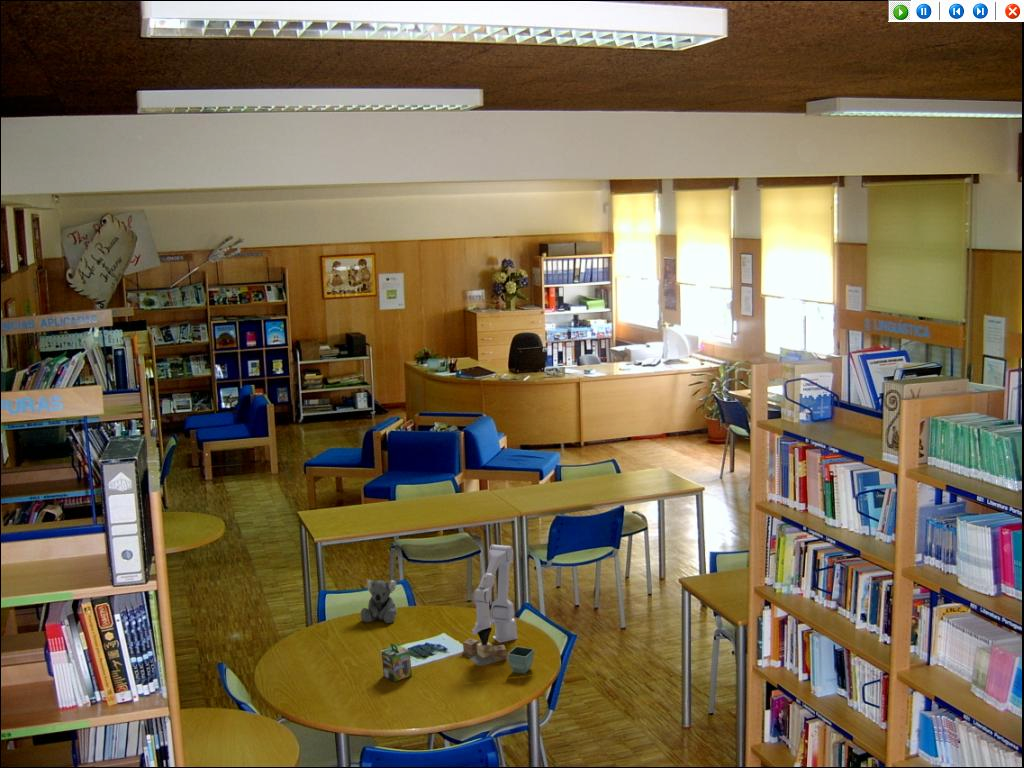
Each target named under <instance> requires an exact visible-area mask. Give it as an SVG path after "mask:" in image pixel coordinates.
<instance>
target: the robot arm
mask: <svg viewBox="0 0 1024 768" xmlns="http://www.w3.org/2000/svg"><path fill="white" fill-rule="evenodd" d="M488 556H489V562H488V566H487V569H486V572H485V573H484V574H483V575H482V576H481V578H480V582H479V584H478V587H477V589H475V590H474V592H473V596H472V599H473V601H474V606H475V609H476V622H475V626H474V628H473V629H471V634H472V635H475V636H476V635H478V637H479V639H480V640H479V641H480V643H482V644H483V645H487V643H488V642H489V639H490V635H491V632H492V627H491V626H492V625H494V629H495V630H494V632H495V635H493V636H491V637H492V638H493V639H494V640H495V641H497V642H498V643H500V644H501V643H503V642H508V641H514V640H518V629H517V622H516V619H515V618H514V616H515V609H514V607H515V606H514V603H513V602H512V601H511V600H510V599H509V588H510V584H509V583H510V569H511V564H513V562H514V549H513V546H511V545H502V544H501V545H500V544H494V543H492V544H491V545H490V547H489V549H488ZM497 571H498V578H497V579H498V580H497V593H496V594H497V595H496V596H497V597H496V598H497V599H496V600H494V601H493V602H492V603H491V608H490V601H491V598H492V592H493V591H492V589H493V586H494V583H495V580H496V579H495V574H496V572H497Z"/></svg>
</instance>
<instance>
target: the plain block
mask: <svg viewBox="0 0 1024 768" xmlns="http://www.w3.org/2000/svg"><path fill="white" fill-rule="evenodd" d="M492 645H493V644H492V643H490V642H489V641H488V643H487V645H483V644H482V643H481V642H479V643H478V644H477V655H479V656H481V657H483V658H485V657H488V656H492V655H493V646H492Z"/></svg>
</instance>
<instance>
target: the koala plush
mask: <svg viewBox="0 0 1024 768" xmlns="http://www.w3.org/2000/svg"><path fill="white" fill-rule="evenodd" d="M366 587H367V591H369V593H370V598H369V601H368V605H367V607H362V608H361V610H360V620H361V621H362V622H364V623H372V622H373V621H375V620H377V619H379V620H383V622H384V623H386V624H392V623H393V622H394V621H395V620H396V617H397V608H396V604H395V602H394V599H393V598H392V597H391V596H390V594H392V593H394V592H395V590H396V588H397V582H396V581H395V580H393V579H392V580H388V581H384V580H380V579H379V580H376V581H375V580H372V579H369V578H368V579H367V580H366Z"/></svg>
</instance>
